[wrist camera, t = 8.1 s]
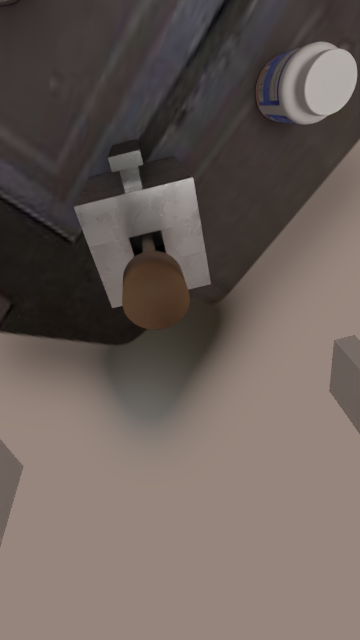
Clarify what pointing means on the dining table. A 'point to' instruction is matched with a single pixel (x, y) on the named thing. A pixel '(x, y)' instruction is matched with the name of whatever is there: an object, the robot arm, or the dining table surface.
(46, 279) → the dining table surface
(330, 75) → the pill bottle
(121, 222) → the grey block with hole
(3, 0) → the travel mug
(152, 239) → the plunger
